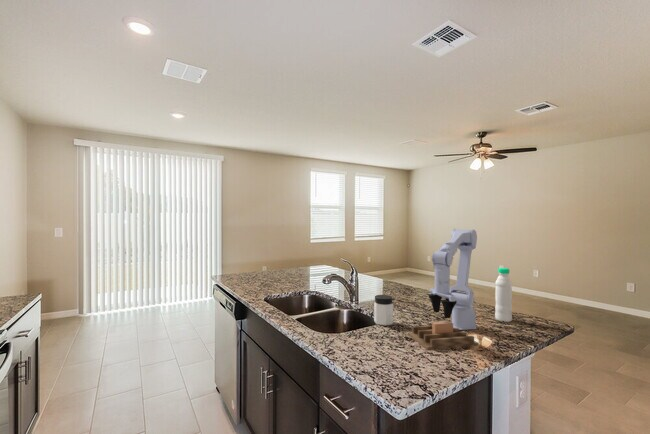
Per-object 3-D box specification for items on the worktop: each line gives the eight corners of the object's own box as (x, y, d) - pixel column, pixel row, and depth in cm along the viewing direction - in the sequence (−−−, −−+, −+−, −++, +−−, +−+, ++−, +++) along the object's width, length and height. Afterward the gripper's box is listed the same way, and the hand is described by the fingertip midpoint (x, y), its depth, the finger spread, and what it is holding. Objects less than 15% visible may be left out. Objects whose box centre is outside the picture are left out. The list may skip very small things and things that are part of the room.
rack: (454, 331, 135) (454, 323, 135) (478, 345, 121) (478, 336, 121) (407, 334, 131) (407, 326, 131) (426, 349, 116) (426, 340, 116)
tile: (449, 336, 128) (449, 321, 128) (453, 338, 126) (453, 323, 126) (432, 337, 126) (432, 322, 126) (435, 339, 124) (435, 324, 124)
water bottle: (496, 321, 150) (496, 268, 150) (494, 316, 156) (494, 266, 156) (513, 323, 147) (513, 269, 147) (510, 318, 154) (510, 267, 154)
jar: (382, 326, 140) (382, 300, 140) (370, 321, 147) (370, 296, 147) (396, 323, 145) (396, 297, 145) (384, 318, 152) (384, 293, 152)
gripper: (423, 278, 132) (423, 310, 132) (443, 285, 118) (443, 321, 118) (438, 277, 134) (438, 309, 134) (460, 284, 120) (459, 320, 120)
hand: (441, 314), depth 126 cm, fingers open, 7 cm apart
